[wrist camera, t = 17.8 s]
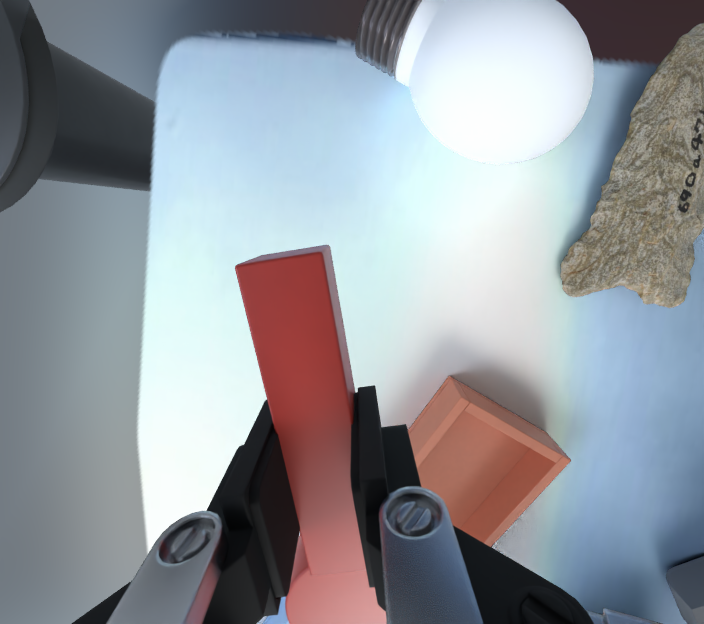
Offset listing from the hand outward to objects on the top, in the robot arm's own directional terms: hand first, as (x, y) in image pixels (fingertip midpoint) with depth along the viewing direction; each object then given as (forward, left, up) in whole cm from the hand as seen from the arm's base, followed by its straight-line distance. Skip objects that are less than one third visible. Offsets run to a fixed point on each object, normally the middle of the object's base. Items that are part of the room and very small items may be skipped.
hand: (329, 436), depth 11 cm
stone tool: (+14, +10, -12) cm, 21 cm away
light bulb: (-7, +15, -11) cm, 20 cm away
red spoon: (+1, -1, 0) cm, 1 cm away
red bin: (+13, -8, -13) cm, 20 cm away
